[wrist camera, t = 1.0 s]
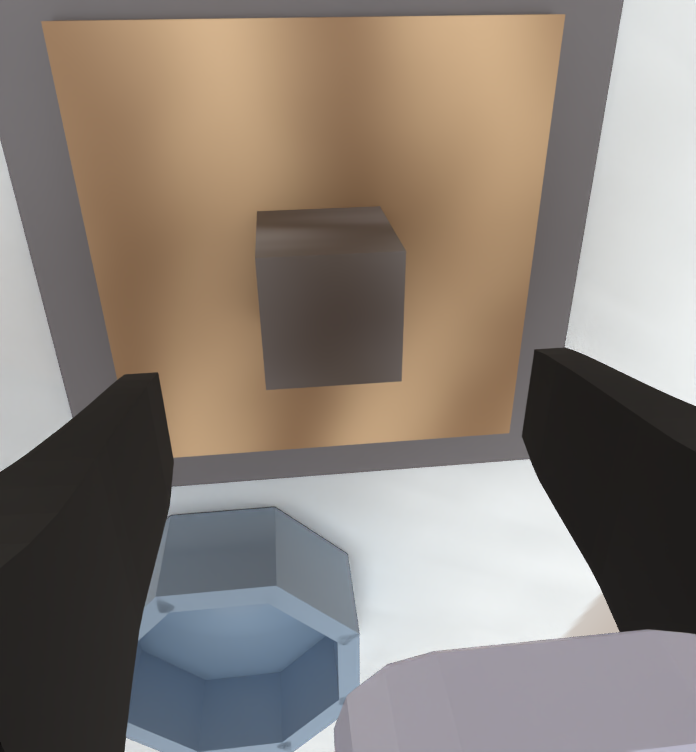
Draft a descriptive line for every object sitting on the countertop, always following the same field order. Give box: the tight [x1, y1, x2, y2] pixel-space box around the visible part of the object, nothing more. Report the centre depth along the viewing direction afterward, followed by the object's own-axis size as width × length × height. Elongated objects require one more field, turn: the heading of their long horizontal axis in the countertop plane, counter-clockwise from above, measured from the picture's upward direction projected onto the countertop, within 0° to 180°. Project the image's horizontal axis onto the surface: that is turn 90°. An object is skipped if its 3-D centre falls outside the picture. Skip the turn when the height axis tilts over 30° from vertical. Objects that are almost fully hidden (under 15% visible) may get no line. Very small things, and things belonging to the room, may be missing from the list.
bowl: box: [126, 507, 360, 752], centre depth 26 cm, size 10×10×4 cm
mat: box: [0, 0, 624, 487], centre depth 20 cm, size 17×17×1 cm
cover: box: [41, 14, 565, 458], centre depth 18 cm, size 13×13×5 cm
